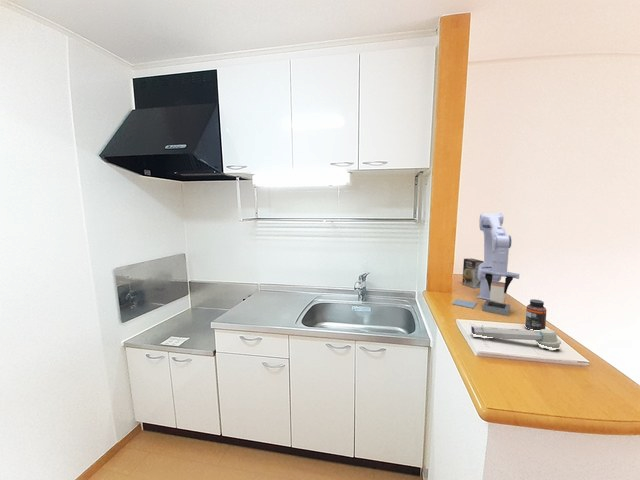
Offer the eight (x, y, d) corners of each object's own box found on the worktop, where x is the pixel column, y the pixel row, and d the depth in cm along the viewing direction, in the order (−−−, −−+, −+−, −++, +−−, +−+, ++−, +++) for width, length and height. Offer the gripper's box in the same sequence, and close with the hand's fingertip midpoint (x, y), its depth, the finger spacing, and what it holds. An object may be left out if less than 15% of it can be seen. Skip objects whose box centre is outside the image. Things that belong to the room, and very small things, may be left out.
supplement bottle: (540, 327, 104) (543, 299, 102) (547, 334, 98) (550, 304, 97) (522, 325, 106) (524, 297, 104) (528, 331, 100) (531, 302, 99)
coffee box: (461, 284, 165) (463, 258, 163) (470, 283, 166) (471, 258, 165) (473, 288, 156) (475, 261, 154) (482, 287, 158) (484, 260, 156)
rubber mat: (456, 299, 136) (456, 298, 136) (477, 303, 130) (477, 302, 130) (452, 304, 129) (452, 303, 129) (473, 308, 124) (473, 307, 123)
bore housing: (486, 305, 128) (486, 300, 128) (510, 309, 122) (510, 304, 122) (482, 310, 121) (482, 305, 121) (507, 316, 115) (508, 310, 115)
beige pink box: (491, 297, 124) (492, 280, 124) (504, 299, 121) (505, 282, 120) (489, 300, 121) (491, 283, 120) (503, 302, 117) (504, 285, 117)
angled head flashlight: (470, 323, 99) (555, 325, 89) (472, 340, 99) (557, 344, 89) (472, 329, 94) (562, 331, 84) (474, 347, 94) (564, 352, 85)
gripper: (479, 261, 121) (477, 290, 122) (519, 265, 111) (516, 297, 113) (482, 259, 126) (480, 287, 128) (520, 263, 117) (518, 293, 118)
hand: (497, 291), depth 121 cm, fingers closed on beige pink box, 5 cm apart
